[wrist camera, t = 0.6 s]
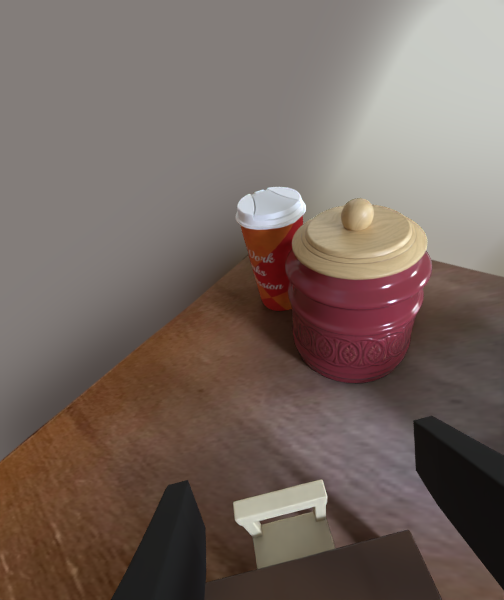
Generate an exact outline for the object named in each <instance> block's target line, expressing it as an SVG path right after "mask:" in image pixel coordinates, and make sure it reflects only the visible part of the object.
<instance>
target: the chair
mask: <svg viewBox="0 0 504 600" xmlns="http://www.w3.org/2000/svg"><path fill="white" fill-rule="evenodd" d="M326 503H327V493H326V490H325V487H324V484H323V481H322V479H320V480H316V481H312V482H308V483H304V484H300V485H297V486H293V487H289V488H285V489H281V490H277V491H273V492H269V493H266V494H262V495H258V496H254V497H250V498H246V499H242V500H238V501H235V502H233V509H234V518H235V521H236V522H237V523H238V524H239V525H240V526H243V527H244V528H245V529H246V530H247V531H248V532H249V533H250V535H251V536H252V537H253V543H254V550H255V557H256V565H257V569H260V568H263V567H267V566H271V565H275V564H279V563H283V562H286V561H290V560H294V559H298V558H302V557H305V556H309V555H313V554H317V553H321V552H325V551H328V550H332V549H335V545H334V542H333V539H332V535H331V532H330V529H329V525H328V522H327V519H326ZM311 507H313V512H309V513H305V514H301V515H297V516H294V517H290V518H286V519H282V520H278V521H274V522H270V523H267V524H263V525H261V523H260V522H259V521H261V520H265V519H269V518H273V517H277V516H280V515H284V514H288V513H292V512H296V511H300V510H304V509H307V508H311Z"/></svg>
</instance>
